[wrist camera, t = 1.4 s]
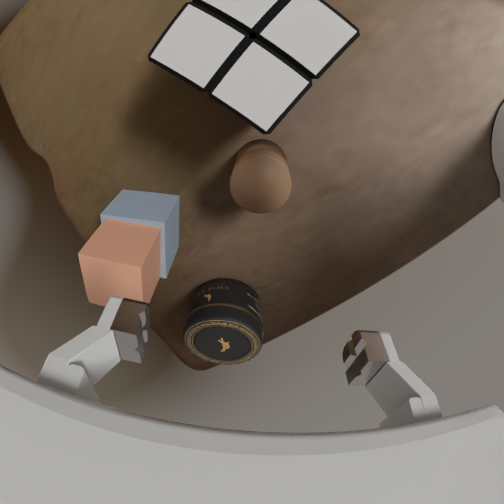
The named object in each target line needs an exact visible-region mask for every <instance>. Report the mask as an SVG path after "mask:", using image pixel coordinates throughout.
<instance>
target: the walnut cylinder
mask: <svg viewBox="0 0 504 504" xmlns="http://www.w3.org/2000/svg"><path fill="white" fill-rule="evenodd" d="M291 188H292V182H291V177H290V173H289V168H288V164H287V160H286V156H285V154H284V152H283V150H282V149H281V148H280V147H279V146H278V145H277V144H275V143H274V142H272V141H269V140H263V139H259V140H253V141H250V142H248V143H247V144H245V145H244V146H243V147H242V148H241V149H240V150H239V152H238V154H237V157H236V160H235V164H234V168H233V171H232V175H231V179H230V191H231V194H232V197H233V198H234V200H235V201H236V203H237V204H238V205H239V206H241V207H242V208H244V209H245V210H247V211H250V212H253V213H269V212H272V211H274V210H277V209H278V208H280V207H281V206H282V205H283V204H284V203H285V202H286V201H287V200H288V198H289V196H290V193H291Z"/></svg>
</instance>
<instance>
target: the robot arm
mask: <svg viewBox="0 0 504 504" xmlns="http://www.w3.org/2000/svg"><path fill="white" fill-rule="evenodd" d="M492 159H493V164H494V168H495V171H496V174H497V176H498V179H499V182H500V198H501V200H502V201H503V202H504V102H503V104H502V106H501V107H500V109H499V112H498V114H497V117H496V120H495V123H494V128H493V134H492ZM149 312H150V304H149V303H146V302H141V301H137V300H133V299H128V298H123V297H119V296H115V295H112V296H111V297H110V298H109V300H108V302H107V304H106V306H105V309H104V311H103V313H102V315H101V317H100V319H99V321H98V323H97V326H91V327H90V328H88V329H87V330H85V331H84V332H82V333H81V334H79V335H77V336H76V337H74V338H73V339H71V340H70V341H68V342H67V343H65V344H64V345H62V346H61V347H59V348H58V349H56V350H55V351H53V352H52V353H50V354H49V355H48V358H47V359H46V362H45V364H44V366H43V368H42V370H41V373H40V375H39V377H38V380H37V381H35V380H32V379H30V378H28V377H26V376H23V375H21V374H19V373H17V372H15V371H12V370H11V369H9V368H6V367H5V366H3V365H1V364H0V504H504V413H503V412H502V411H501V410H500V409H499V408H497V407H496V406H495V405H493V404H489V405H485V406H482V407H479V408H475V409H472V410H468V411H465V412H461V413H457V414H453V415H449V416H445V417H442V414H441V411H440V408H439V405H438V402H437V399H436V396H435V394H434V393H433V392H432V391H431V390H430V389H429V388H428V387H427V386H426V385H425V384H424V383H423V382H422V381H421V380H420V379H419V378H418V377H417V376H416V375H415V374H414V373H413V372H412V371H411V370H410V369H409V368H408V367H407V366H406V365H405V364H404V363H403V362H399V359H398V356H397V353H396V350H395V347H394V345H393V342H392V339H391V337H390V334H389V333H388V332H378V331H362V330H357V331H355V332H354V333H353V335H352V340H351V341H349V342H347V344H346V346H345V347H344V350H343V362H344V364H345V365H346V366H347V368H348V369H347V371H346V376H347V380H348V385H354V386H358V385H359V386H360V385H361V386H365V387H366V388H367V389H368V391H369V392H370V393H371V395H372V396H373V397H374V399H375V400H376V401H377V403H378V404H379V405H380V407H381V408H382V409H383V411H384V412H385V413H386V415H387V416H388V417H387V418H386V419H385V420H383V421H382V422H381V423H380V425H379V426H380V428H375V429H366V430H355V431H341V432H319V433H278V432H277V433H276V432H256V431H241V430H231V429H221V428H213V427H204V426H198V425H191V424H185V423H179V422H173V421H168V420H162V419H157V418H153V417H148V416H143V415H139V414H135V413H131V412H127V411H123V410H119V409H116V408H112V407H108V406H104V405H101V404H99V401H100V400H99V399H98V396H97V395H96V393H95V391H94V389H93V387H92V386H93V385H94V384H95V383H96V382H98V381H99V380H100V379H101V378H102V377H103V376H104V375H105V374H106V373H108V372H109V371H110V370H111V369H112V368H113V367H114V366H115V365H116V364H117V363H118V362H120V361H121V359H122V360H127V361H132V362H137V363H142V359H143V356H144V353H145V344H144V343H145V342H147V341H148V339H149V335H150V330H151V317H150V316H149Z"/></svg>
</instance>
